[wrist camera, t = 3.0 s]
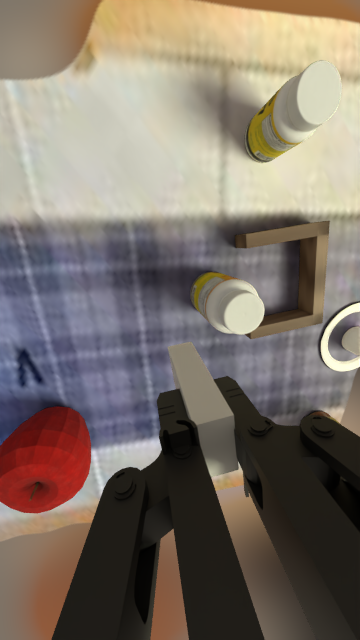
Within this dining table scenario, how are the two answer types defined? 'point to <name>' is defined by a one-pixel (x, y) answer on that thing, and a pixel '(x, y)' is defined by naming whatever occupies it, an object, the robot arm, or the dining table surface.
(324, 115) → the supplement bottle
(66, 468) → the apple
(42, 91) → the dining table surface
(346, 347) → the candle holder
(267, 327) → the pocket
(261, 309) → the supplement bottle
